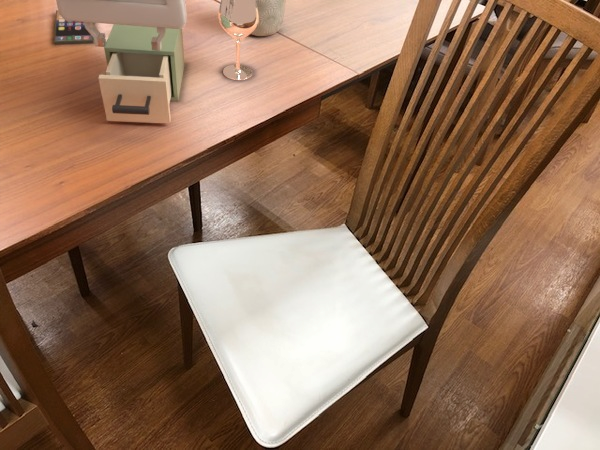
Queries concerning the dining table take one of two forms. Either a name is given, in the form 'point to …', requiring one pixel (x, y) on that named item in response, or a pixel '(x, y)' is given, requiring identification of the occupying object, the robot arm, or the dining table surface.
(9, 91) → the dining table surface
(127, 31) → the green drawer cabinet
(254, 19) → the wineglass
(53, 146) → the dining table surface
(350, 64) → the dining table surface
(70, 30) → the smartphone
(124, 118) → the cream drawer
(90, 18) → the robot arm
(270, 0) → the planter
